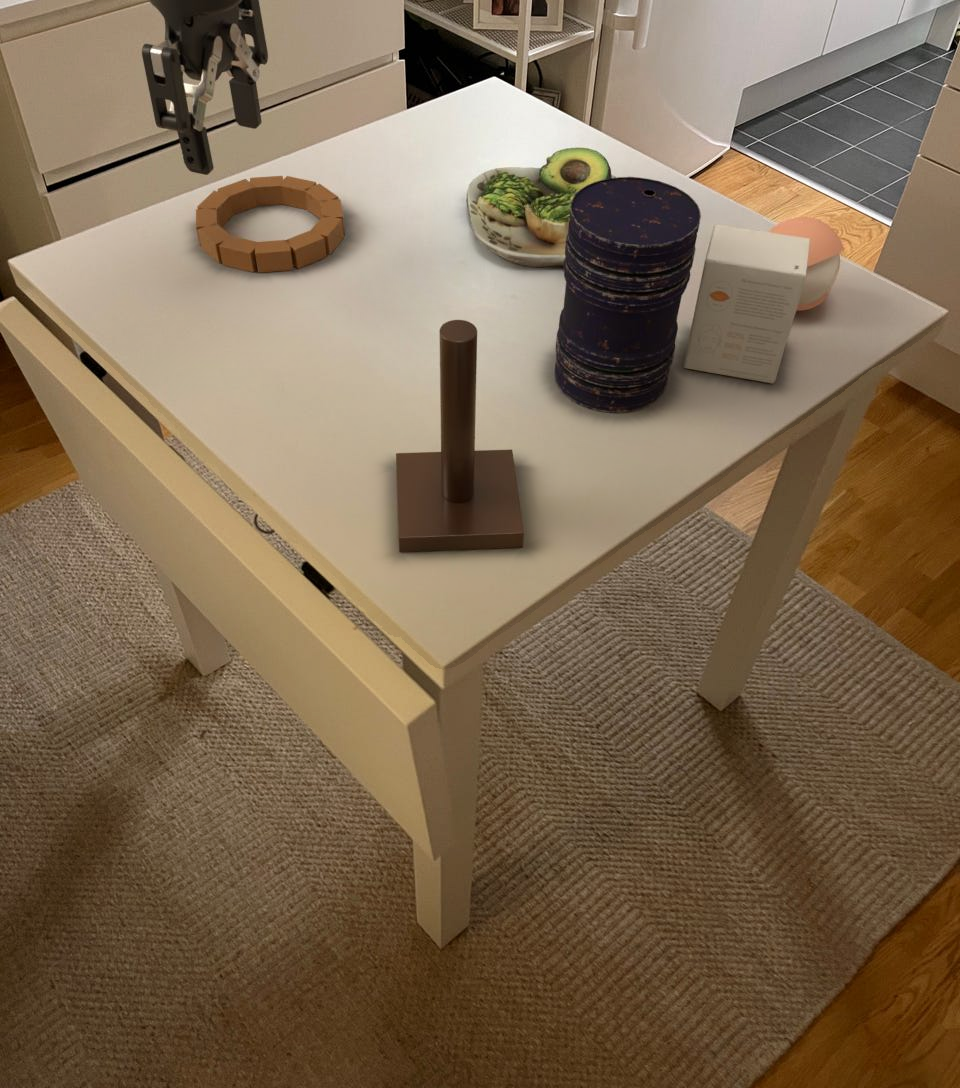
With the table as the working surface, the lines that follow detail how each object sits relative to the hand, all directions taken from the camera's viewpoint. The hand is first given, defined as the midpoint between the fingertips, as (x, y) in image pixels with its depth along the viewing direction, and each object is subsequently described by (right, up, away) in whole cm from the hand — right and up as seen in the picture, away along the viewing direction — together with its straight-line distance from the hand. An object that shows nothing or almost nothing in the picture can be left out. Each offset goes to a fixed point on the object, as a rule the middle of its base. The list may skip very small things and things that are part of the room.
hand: (225, 148), depth 86 cm
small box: (+44, -18, +2) cm, 47 cm away
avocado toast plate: (+29, 0, +15) cm, 33 cm away
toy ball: (+50, -11, +7) cm, 52 cm away
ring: (+1, -2, +12) cm, 13 cm away
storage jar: (+33, -20, 0) cm, 39 cm away
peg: (+20, -32, -11) cm, 39 cm away
